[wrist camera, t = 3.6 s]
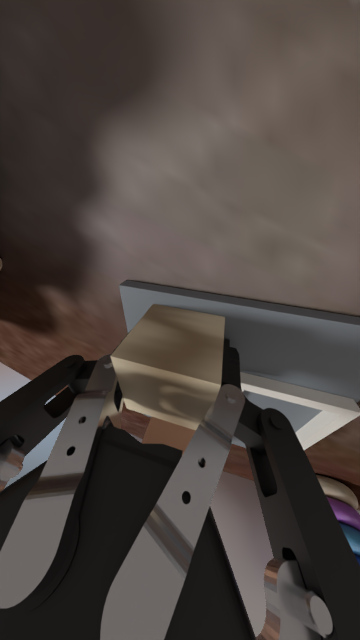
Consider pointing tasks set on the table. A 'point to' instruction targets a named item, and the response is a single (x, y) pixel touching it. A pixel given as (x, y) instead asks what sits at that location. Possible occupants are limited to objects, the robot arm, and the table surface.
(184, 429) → the terracotta block
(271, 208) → the table surface
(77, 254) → the table surface
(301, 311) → the board
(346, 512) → the stacking toy
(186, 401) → the maple block
